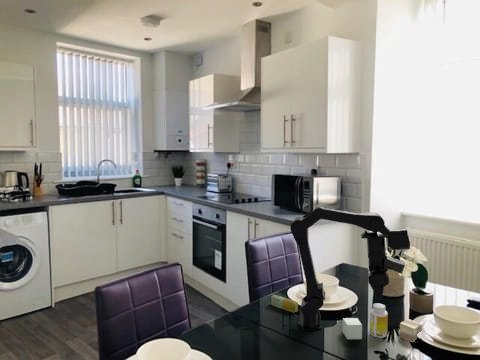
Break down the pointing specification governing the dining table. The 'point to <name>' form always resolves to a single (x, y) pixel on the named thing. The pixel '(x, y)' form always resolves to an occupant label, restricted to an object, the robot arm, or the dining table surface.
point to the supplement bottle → (378, 320)
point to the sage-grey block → (352, 328)
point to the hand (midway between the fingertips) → (379, 295)
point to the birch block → (410, 330)
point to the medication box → (284, 303)
